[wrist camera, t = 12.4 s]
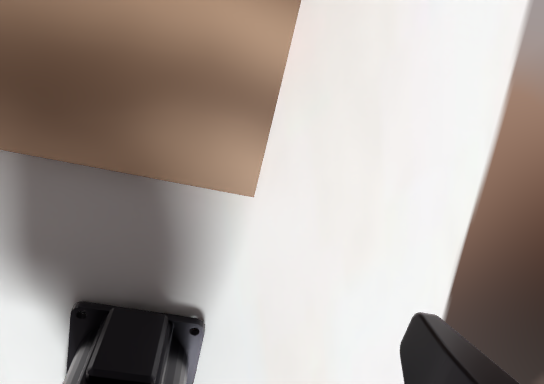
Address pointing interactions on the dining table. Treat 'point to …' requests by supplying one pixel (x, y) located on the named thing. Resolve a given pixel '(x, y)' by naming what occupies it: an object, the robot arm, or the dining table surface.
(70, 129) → the walnut board
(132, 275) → the dining table surface
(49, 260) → the dining table surface
